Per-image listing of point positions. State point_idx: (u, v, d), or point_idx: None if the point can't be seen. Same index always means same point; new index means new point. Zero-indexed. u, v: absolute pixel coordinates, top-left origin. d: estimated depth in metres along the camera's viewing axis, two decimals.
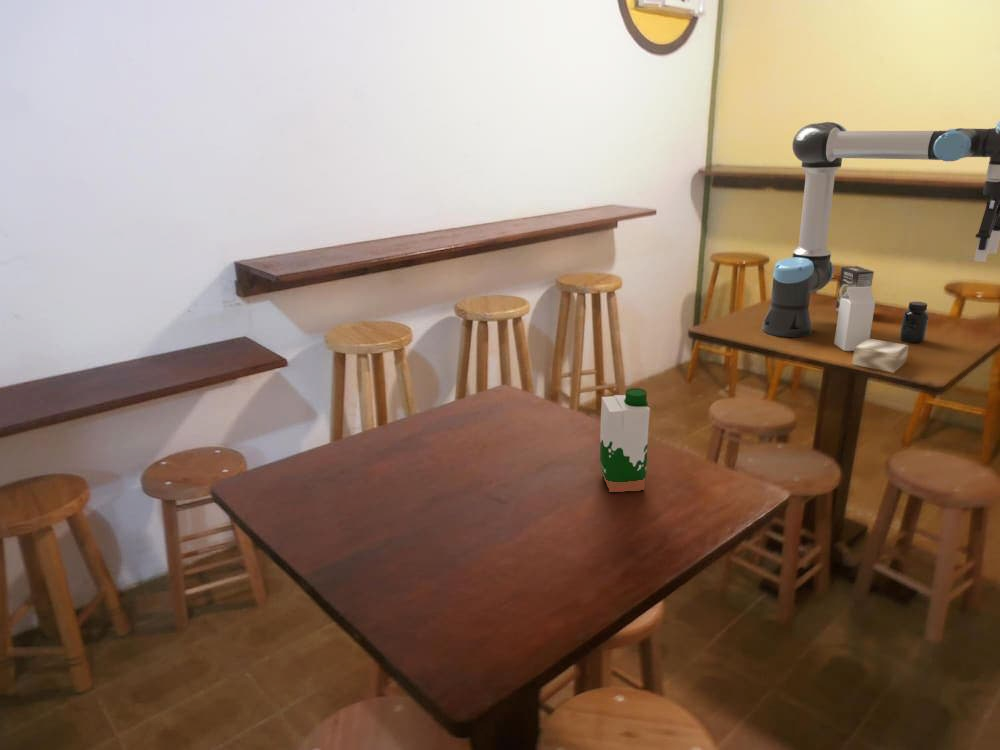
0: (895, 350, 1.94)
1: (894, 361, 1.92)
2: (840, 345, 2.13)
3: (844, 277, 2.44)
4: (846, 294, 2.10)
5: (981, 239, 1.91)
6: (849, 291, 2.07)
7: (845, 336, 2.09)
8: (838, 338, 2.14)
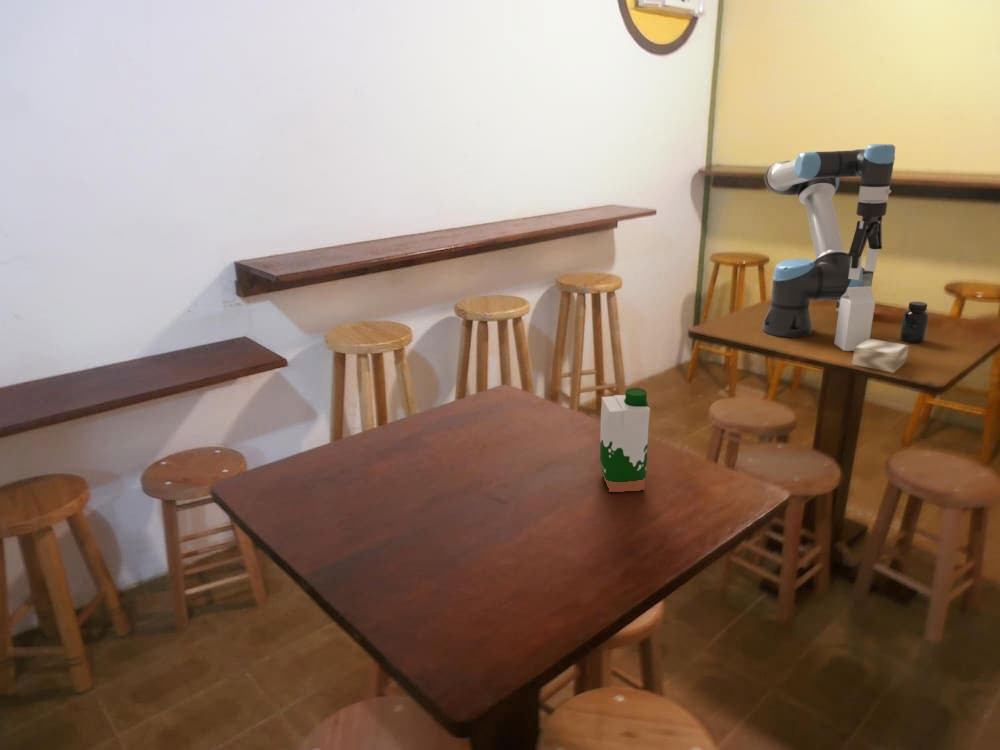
0: (895, 350, 1.94)
1: (894, 361, 1.92)
2: (840, 345, 2.13)
3: None
4: (846, 294, 2.10)
5: (853, 258, 1.98)
6: (849, 291, 2.07)
7: (845, 336, 2.09)
8: (838, 338, 2.14)
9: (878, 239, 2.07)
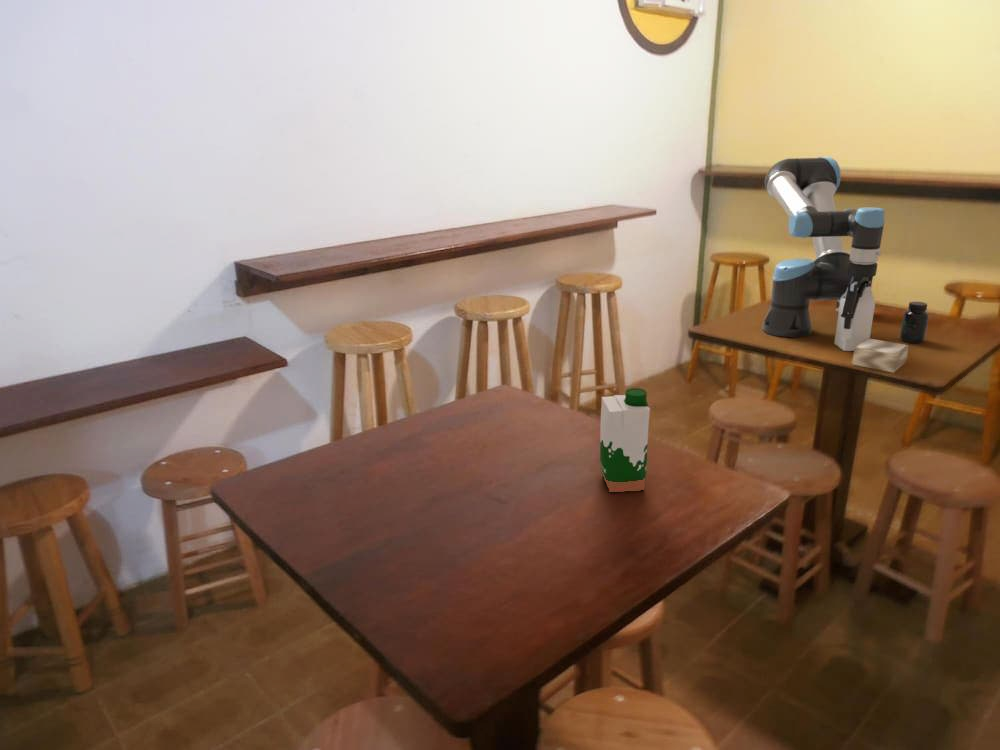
0: (895, 350, 1.94)
1: (894, 361, 1.92)
2: (840, 345, 2.13)
3: None
4: (846, 294, 2.10)
5: (845, 319, 2.06)
6: None
7: None
8: (838, 338, 2.14)
9: None
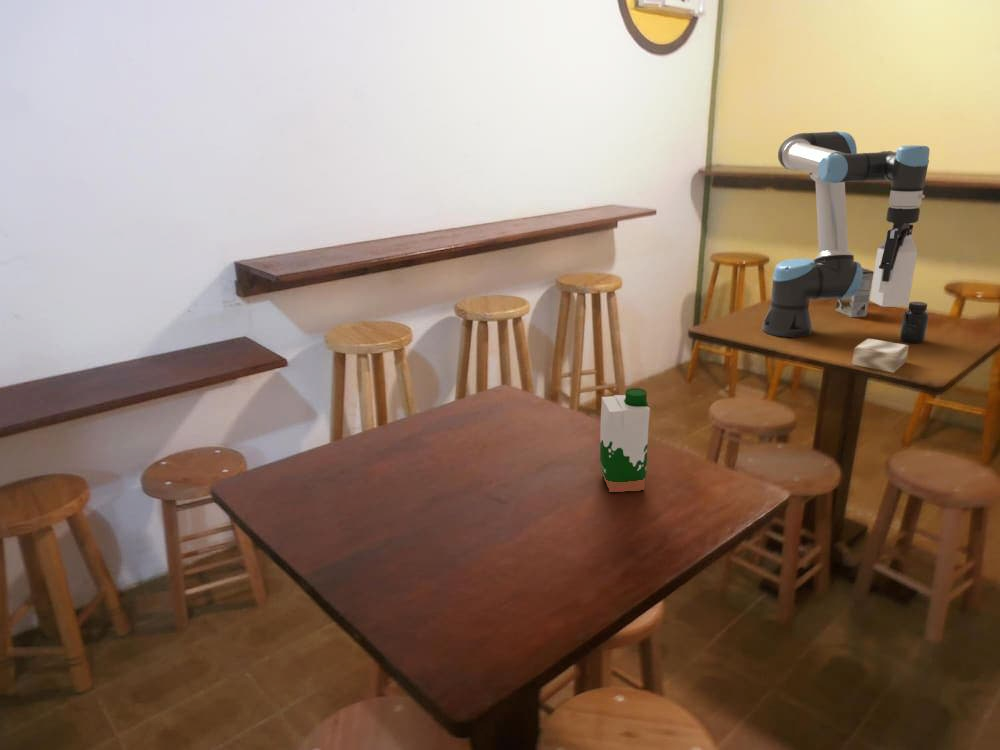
0: (895, 350, 1.94)
1: (894, 361, 1.92)
2: (877, 301, 1.93)
3: None
4: (884, 244, 1.90)
5: (884, 270, 1.86)
6: None
7: None
8: (875, 293, 1.94)
9: None
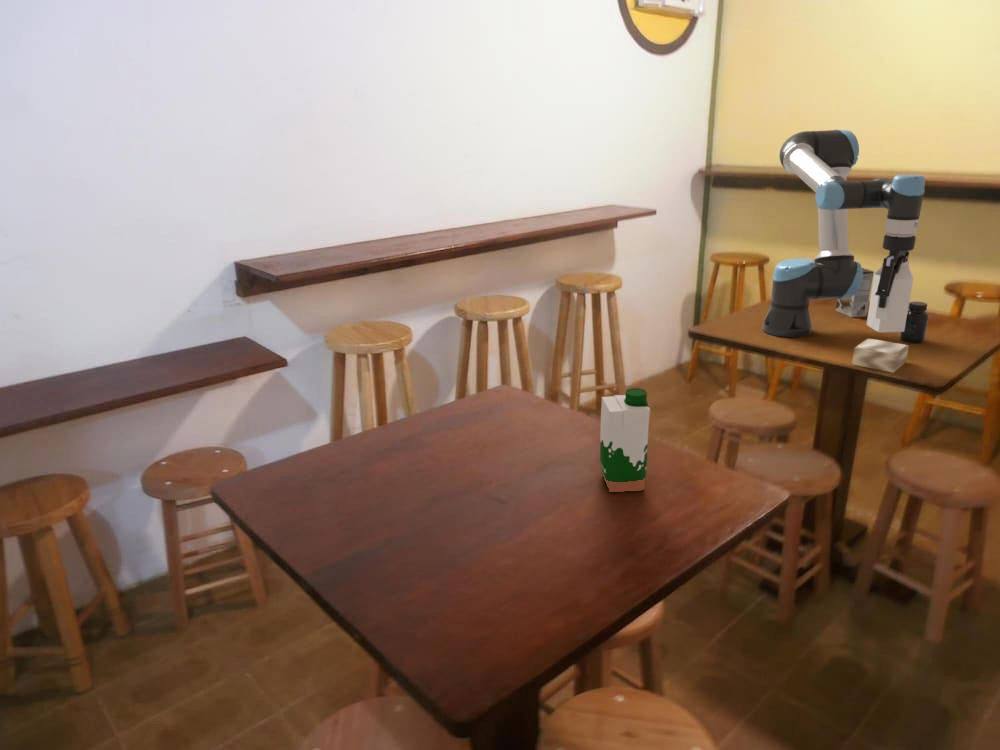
0: (895, 350, 1.94)
1: (894, 361, 1.92)
2: (873, 327, 1.96)
3: None
4: (880, 270, 1.92)
5: (880, 297, 1.89)
6: None
7: None
8: (871, 319, 1.97)
9: None
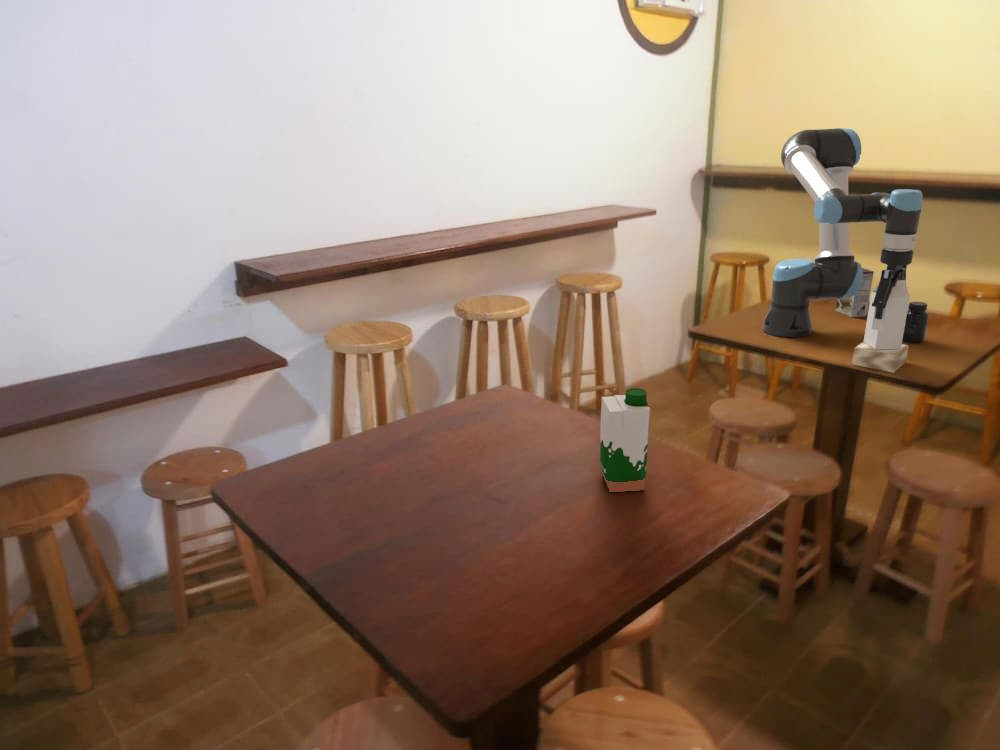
0: (895, 350, 1.94)
1: (894, 361, 1.92)
2: (870, 344, 1.98)
3: None
4: None
5: (877, 308, 1.89)
6: None
7: (877, 333, 1.94)
8: (868, 335, 1.98)
9: None
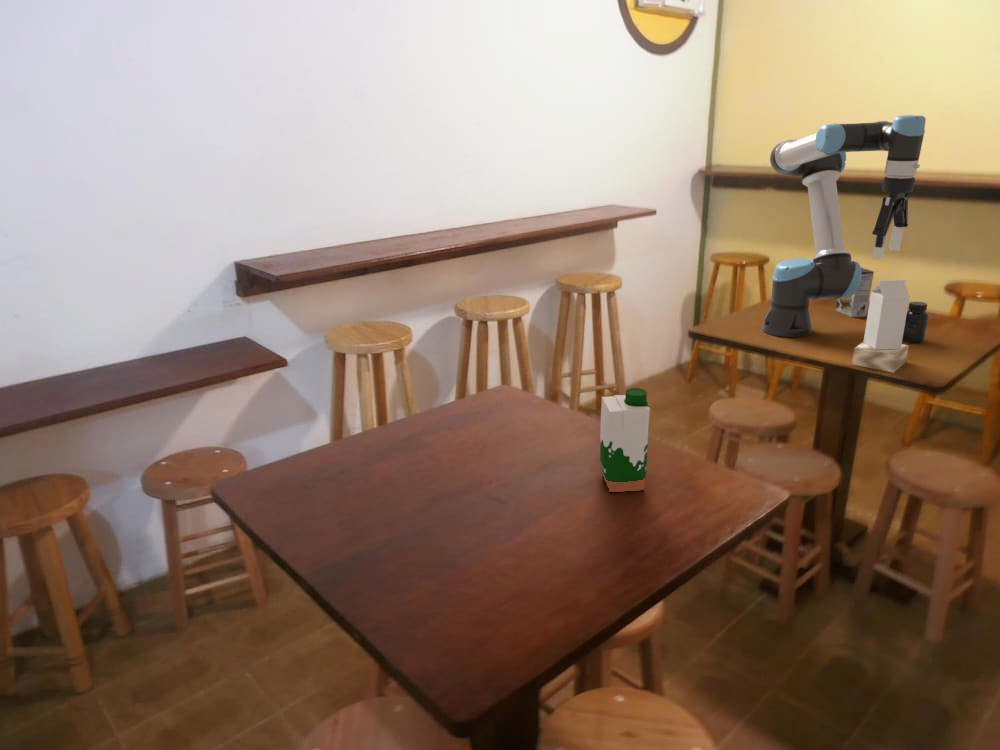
0: (895, 350, 1.94)
1: (894, 361, 1.92)
2: (870, 344, 1.98)
3: None
4: (877, 288, 1.94)
5: (877, 236, 1.89)
6: (881, 285, 1.92)
7: (876, 333, 1.94)
8: (868, 336, 1.98)
9: (904, 216, 1.98)
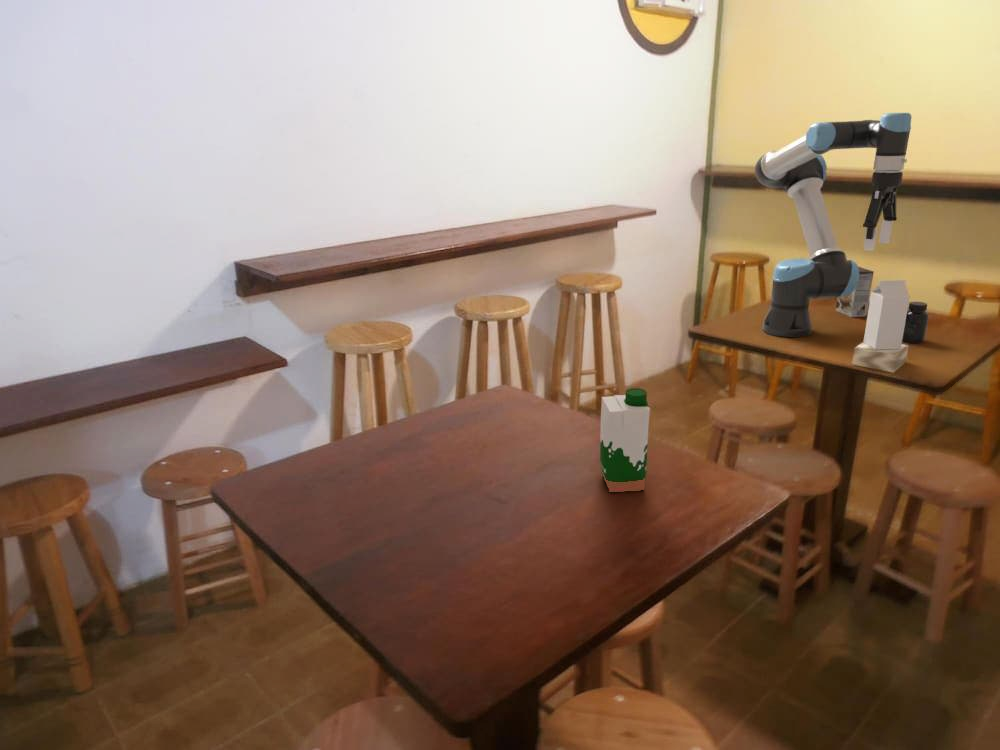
0: (895, 350, 1.94)
1: (894, 361, 1.92)
2: (870, 344, 1.98)
3: None
4: (877, 288, 1.94)
5: (868, 228, 1.96)
6: (881, 285, 1.92)
7: (876, 333, 1.94)
8: (868, 336, 1.98)
9: (893, 211, 2.05)
